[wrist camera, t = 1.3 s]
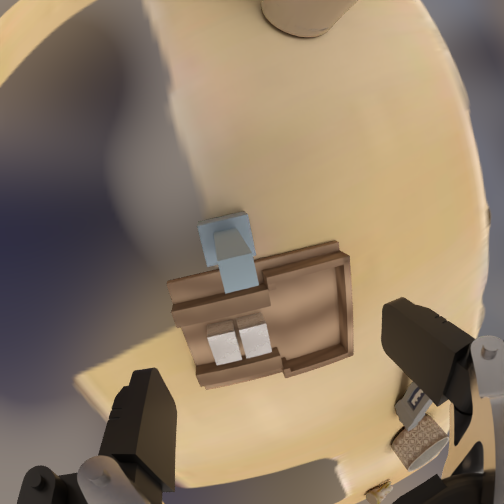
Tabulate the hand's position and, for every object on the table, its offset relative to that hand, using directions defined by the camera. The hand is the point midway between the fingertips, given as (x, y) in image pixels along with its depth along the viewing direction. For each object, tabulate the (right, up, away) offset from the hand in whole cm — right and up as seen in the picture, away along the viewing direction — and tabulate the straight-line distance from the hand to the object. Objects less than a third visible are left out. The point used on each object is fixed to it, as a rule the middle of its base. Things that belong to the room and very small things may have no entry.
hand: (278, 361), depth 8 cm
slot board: (+1, -5, +24) cm, 25 cm away
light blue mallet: (-4, +5, +21) cm, 22 cm away
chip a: (-4, -6, +23) cm, 24 cm away
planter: (+40, -42, +41) cm, 71 cm away
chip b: (-1, -6, +23) cm, 24 cm away
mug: (+45, -77, +51) cm, 103 cm away
